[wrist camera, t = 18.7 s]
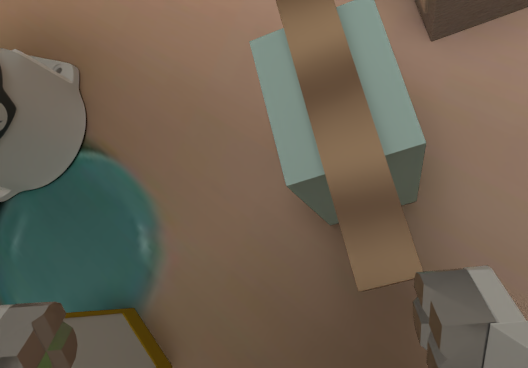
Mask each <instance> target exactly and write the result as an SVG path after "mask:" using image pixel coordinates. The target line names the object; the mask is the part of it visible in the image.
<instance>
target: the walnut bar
mask: <svg viewBox="0 0 528 368" xmlns="http://www.w3.org/2000/svg"><path fill="white" fill-rule="evenodd" d="M276 3H277V6H278V10H279V13H280V17H281V20H282V24H283V27H284V31H285V35H286V38H287V42H288V45H289V49H290V52H291V56H292V59H293V63H294V66H295V70H296V73H297V77H298V80H299V84H300V88H301V91H302V95H303V98H304V102H305V105H306V109H307V112H308V116H309V119H310V123H311V126H312V130H313V133H314V137H315V140H316V144H317V148H318V151H319V155H320V158H321V162H322V165H323V169H324V172H325V176H326V179H327V183H328V186H329V190H330V193H331V197H332V201H333V204H334V208H335V211H336V215H337V218H338V222H339V225H340V229H341V232H342V236H343V239H344V243H345V246H346V250H347V253H348V257H349V261H350V264H351V268H352V271H353V275H354V278H355V282H356V285H357V289H358V292H361V291H367V290H371V289H375V288H379V287H384V286H388V285H392V284H396V283H400V282H404V281H408V280H413V279H414V277H415V274H416V272H423V270H422V267H421V264H420V261H419V258H418V255H417V252H416V249H415V245H414V242H413V239H412V236H411V233H410V230H409V227H408V224H407V221H406V218H405V215H404V212H403V209H402V206H401V203H400V200H399V197H398V194H397V191H396V188H395V185H394V182H393V179H392V176H391V173H390V170H389V167H388V164H387V161H386V158H385V155H384V152H383V149H382V145H381V142H380V139H379V136H378V133H377V130H376V127H375V124H374V121H373V118H372V115H371V112H370V109H369V106H368V103H367V100H366V97H365V94H364V91H363V88H362V85H361V82H360V79H359V76H358V73H357V70H356V67H355V64H354V61H353V58H352V55H351V52H350V49H349V45H348V42H347V39H346V36H345V33H344V30H343V27H342V24H341V21H340V18H339V15H338V12H337V9H336V6H335V3H334V0H276Z"/></svg>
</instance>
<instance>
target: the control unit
mask: <svg viewBox="0 0 528 368" xmlns="http://www.w3.org/2000/svg"><path fill="white" fill-rule="evenodd" d="M415 2H416V4H417V7H418V9H419V12H420V14H421V17H422V19H423V22H424V24H425V27H426V29H427V32H428V34H429V37H430V39H431V41H434V40H437V39H439V38H442V37H445V36H448V35H451V34H453V33H456V32H459V31H462V30H465V29H467V28H470V27H473V26H476V25H478V24H481V23H484V22H487V21H490V20H492V19H495V18H498V17H501V16H504V15H506V14H509V13H512V12H515V11H518V10H520V9H523V8H526V7H528V0H415Z"/></svg>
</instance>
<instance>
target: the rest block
mask: <svg viewBox="0 0 528 368" xmlns="http://www.w3.org/2000/svg"><path fill="white" fill-rule="evenodd" d="M336 9H337V12H338V15H339V18H340V21H341V24H342V27H343V30H344V33H345V36H346V39H347V42H348V45H349V49H350V52H351V55H352V58H353V61H354V64H355V67H356V70H357V73H358V76H359V79H360V82H361V85H362V88H363V91H364V94H365V97H366V100H367V103H368V106H369V109H370V112H371V115H372V118H373V121H374V124H375V127H376V130H377V133H378V136H379V139H380V142H381V145H382V149H383V152H384V155H385V158H386V161H387V164H388V167H389V170H390V173H391V176H392V179H393V182H394V185H395V188H396V191H397V194H398V197H399V200H400V203H401V205H405V204H408V203H412V202H415V201H417V195H418V189H419V183H420V177H421V171H422V165H423V159H424V153H425V147H426V141H425V138H424V135H423V133H422V130H421V127H420V124H419V122H418V119H417V116H416V114H415V111H414V108H413V105H412V103H411V100H410V97H409V94H408V92H407V89H406V86H405V83H404V81H403V78H402V75H401V73H400V70H399V67H398V64H397V62H396V59H395V56H394V53H393V51H392V48H391V45H390V42H389V40H388V37H387V34H386V31H385V29H384V26H383V23H382V21H381V18H380V15H379V12H378V10H377V7H376V4H375V1H374V0H354V1H351V2H349V3H346V4H343V5H341V6H338V7H336ZM249 42H250V46H251V50H252V54H253V57H254V61H255V65H256V69H257V73H258V77H259V81H260V85H261V89H262V93H263V97H264V100H265V104H266V108H267V112H268V116H269V120H270V124H271V128H272V132H273V136H274V140H275V143H276V147H277V151H278V155H279V159H280V163H281V167H282V171H283V175H284V179H285V183H286V186H287V187H288V188H289V189H290V190H291V191H292V192H294V193H295V194H296V195H297V196H298V197H299V198H300V199H301V200H303V201H304V202H305V203H306V204H307V205H308V206H309V207H310V208H311V209H313V210H314V211H315V212H316V213H317V214H318V215H319V216H320V217H322V218H323V219H324V220H325V221H326V222H327V223H328V224H329V225H334V224H337V223H339V222H338V218H337V215H336V211H335V208H334V204H333V201H332V197H331V193H330V190H329V186H328V183H327V179H326V176H325V172H324V169H323V165H322V162H321V158H320V155H319V151H318V148H317V144H316V140H315V137H314V133H313V130H312V126H311V123H310V119H309V116H308V112H307V109H306V105H305V102H304V98H303V95H302V91H301V88H300V84H299V80H298V77H297V73H296V70H295V66H294V63H293V59H292V56H291V52H290V49H289V45H288V42H287V38H286V35H285V31H284V28H283V29H280V30H277V31H275V32H272V33H270V34H267V35H265V36H262V37H260V38H257V39H255V40H252V41H249Z"/></svg>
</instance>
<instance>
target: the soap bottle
mask: <svg viewBox="0 0 528 368" xmlns="http://www.w3.org/2000/svg"><path fill="white" fill-rule="evenodd" d="M64 322H65V323H67V324H68V325H70V326H71V327H73V329H74V332H75V334H76V337H77V344H78V346H77V353H76V358H75V361H74V363H73V365H72V367H71V368H172V366H171V364H170V363H169V361H168V359H167V358H166V356H165V355H164V353H163V352H162V350H161V349H160V347H159V346H158V344H157V343H156V341H155V339H154V338H153V336H152V335H151V333H150V332H149V330H148V329H147V327H146V326H145V324H144V323H143V321H142V319H141V318H140V316H139V315H138V313H137V312H136V310H135V309H134V308H128V309H114V310H100V311H86V312H72V313H66V316H65V318H64Z"/></svg>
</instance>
